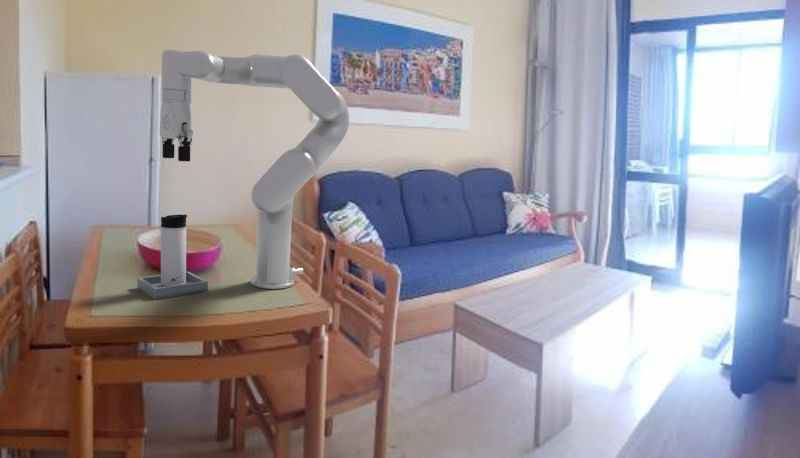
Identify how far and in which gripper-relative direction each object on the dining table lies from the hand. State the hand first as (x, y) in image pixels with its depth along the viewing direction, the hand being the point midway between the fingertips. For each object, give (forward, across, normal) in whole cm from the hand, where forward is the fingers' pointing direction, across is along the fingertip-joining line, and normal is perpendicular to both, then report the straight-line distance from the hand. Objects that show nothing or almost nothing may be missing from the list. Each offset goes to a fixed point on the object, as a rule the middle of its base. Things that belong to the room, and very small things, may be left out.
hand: (176, 159), depth 157 cm
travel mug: (+34, +11, -6) cm, 36 cm away
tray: (+34, +11, -6) cm, 36 cm away
